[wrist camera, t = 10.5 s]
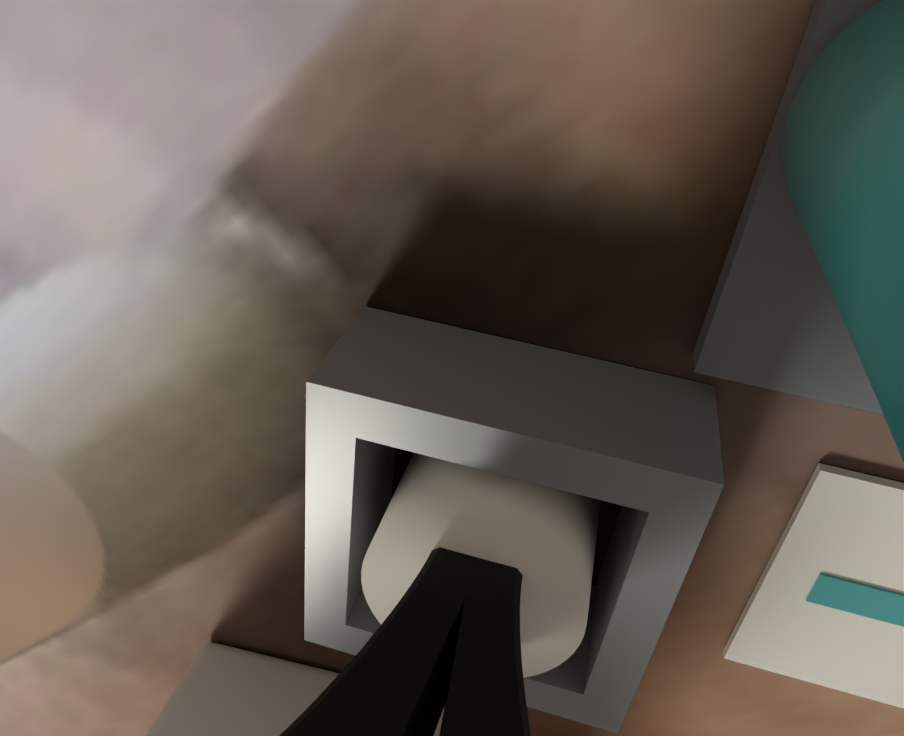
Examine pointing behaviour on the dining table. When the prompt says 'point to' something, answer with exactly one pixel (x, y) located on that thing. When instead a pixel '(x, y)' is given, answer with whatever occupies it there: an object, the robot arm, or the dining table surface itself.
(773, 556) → the card
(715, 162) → the dining table surface
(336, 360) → the button box
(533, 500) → the button
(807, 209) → the marker
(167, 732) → the medicine bottle
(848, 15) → the board
